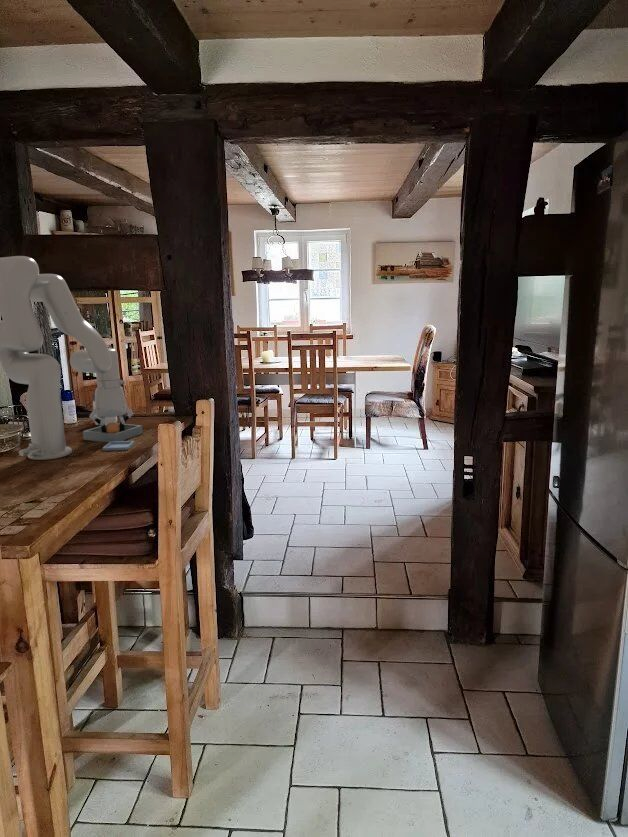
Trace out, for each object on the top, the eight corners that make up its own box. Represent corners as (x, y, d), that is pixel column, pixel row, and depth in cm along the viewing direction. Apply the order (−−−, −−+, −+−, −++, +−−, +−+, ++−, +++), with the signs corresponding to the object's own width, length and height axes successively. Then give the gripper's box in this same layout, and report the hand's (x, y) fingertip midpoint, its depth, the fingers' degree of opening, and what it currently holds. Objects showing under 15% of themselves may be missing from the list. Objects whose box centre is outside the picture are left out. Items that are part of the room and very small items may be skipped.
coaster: (127, 450, 179) (127, 447, 179) (102, 450, 179) (102, 447, 178) (134, 443, 187) (134, 440, 187) (110, 444, 186) (110, 441, 186)
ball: (114, 438, 194) (113, 424, 193) (103, 437, 196) (101, 423, 195) (124, 435, 198) (122, 421, 197) (113, 434, 200) (111, 420, 199)
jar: (99, 426, 213) (96, 395, 210) (90, 423, 219) (87, 393, 216) (121, 422, 219) (119, 392, 217) (112, 419, 225) (110, 390, 222)
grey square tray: (115, 443, 188) (114, 434, 188) (83, 439, 193) (82, 431, 193) (142, 433, 201) (142, 425, 200) (112, 430, 206) (111, 422, 205)
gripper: (133, 381, 200) (137, 430, 204) (82, 384, 193) (87, 435, 197) (135, 384, 193) (139, 435, 197) (82, 387, 187) (87, 440, 190)
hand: (113, 434), depth 197 cm, fingers closed on ball, 4 cm apart
